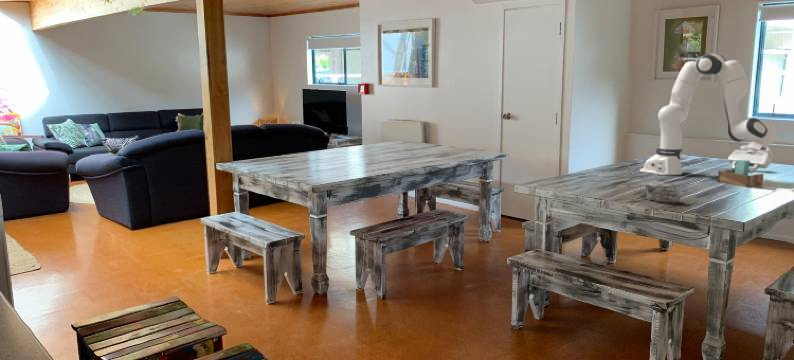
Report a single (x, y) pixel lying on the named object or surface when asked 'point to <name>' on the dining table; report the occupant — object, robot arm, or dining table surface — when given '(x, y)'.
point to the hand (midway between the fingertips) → (741, 170)
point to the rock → (662, 192)
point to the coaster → (766, 187)
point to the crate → (739, 179)
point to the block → (742, 167)
